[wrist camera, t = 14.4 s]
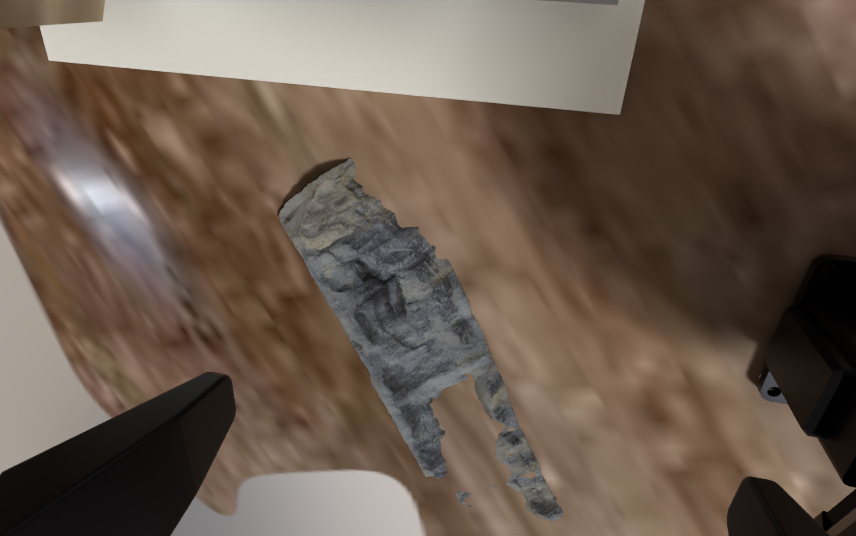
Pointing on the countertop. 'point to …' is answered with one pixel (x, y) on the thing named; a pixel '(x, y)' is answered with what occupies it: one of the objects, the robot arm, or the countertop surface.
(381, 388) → the driftwood
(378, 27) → the ridge stand
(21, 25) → the brass post
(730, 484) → the countertop surface
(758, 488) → the robot arm
